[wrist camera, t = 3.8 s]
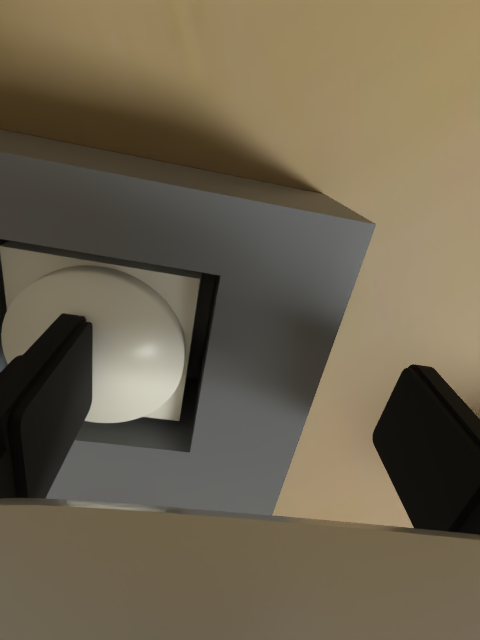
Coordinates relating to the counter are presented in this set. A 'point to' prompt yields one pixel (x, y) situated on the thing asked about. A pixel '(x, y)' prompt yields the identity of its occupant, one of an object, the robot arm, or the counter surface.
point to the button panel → (211, 315)
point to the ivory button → (107, 323)
